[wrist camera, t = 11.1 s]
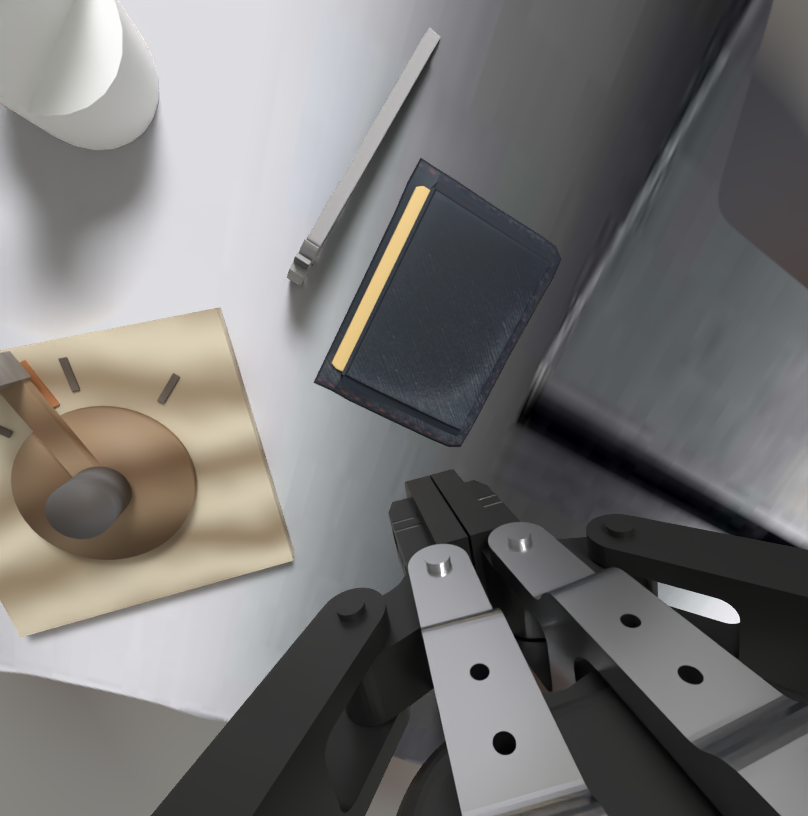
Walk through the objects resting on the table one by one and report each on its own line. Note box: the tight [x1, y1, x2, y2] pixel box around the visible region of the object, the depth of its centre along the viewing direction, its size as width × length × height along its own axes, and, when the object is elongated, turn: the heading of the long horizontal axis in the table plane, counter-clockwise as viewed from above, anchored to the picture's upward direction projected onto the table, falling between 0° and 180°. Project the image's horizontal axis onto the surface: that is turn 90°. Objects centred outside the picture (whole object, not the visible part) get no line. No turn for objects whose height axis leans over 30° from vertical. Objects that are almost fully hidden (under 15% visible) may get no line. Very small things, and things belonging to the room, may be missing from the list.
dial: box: [0, 351, 197, 560], centre depth 29 cm, size 17×12×7 cm
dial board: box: [0, 308, 294, 637], centre depth 34 cm, size 22×22×2 cm
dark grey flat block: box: [314, 158, 561, 447], centre depth 37 cm, size 20×2×15 cm
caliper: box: [287, 27, 440, 286], centre depth 30 cm, size 21×1×6 cm, turn 148°
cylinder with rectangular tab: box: [0, 0, 159, 150], centre depth 23 cm, size 9×9×12 cm
